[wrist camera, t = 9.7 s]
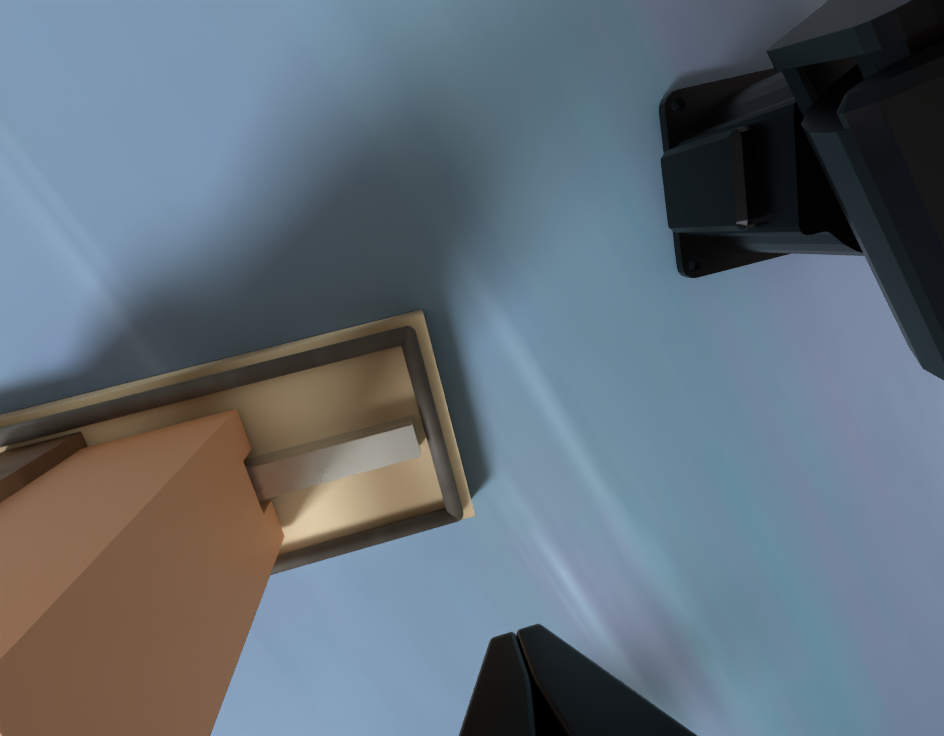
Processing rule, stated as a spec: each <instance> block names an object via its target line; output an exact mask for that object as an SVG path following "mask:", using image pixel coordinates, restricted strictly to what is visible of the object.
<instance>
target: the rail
mask: <svg viewBox="0 0 944 736" xmlns="http://www.w3.org/2000/svg"><path fill="white" fill-rule="evenodd" d="M417 457H421V448H420V443H419V439H418V436H417V432H416V429H415V425H414V421H413V418H412V415H410V416H406V417H402V418H399V419H395V420H391V421H387V422H384V423H380V424H376V425H372V426H369V427H365V428H361V429H357V430H354V431H350V432H346V433H342V434H338V435H335V436H331V437H327V438H323V439H320V440H316V441H312V442H308V443H305V444H301V445H297V446H293V447H290V448H286V449H282V450H278V451H275V452H271V453H267V454H263V455H260V456H256V457H252V458H248V459H245V460H244V461H243V462H244V465H245V467H246V470H247V472H248V475H249V478H250V480H251V483H252V485H253V488H254V491H255V493H256V496H257V498H258V501H260V500H264V499H267V498H271V497H275V496H278V495H282V494H286V493H289V492H293V491H297V490H300V489H304V488H308V487H311V486H315V485H319V484H322V483H326V482H330V481H333V480H337V479H341V478H344V477H348V476H352V475H355V474H359V473H362V472H366V471H370V470H373V469H377V468H381V467H384V466H388V465H392V464H395V463H399V462H403V461H406V460H410V459H414V458H417Z"/></svg>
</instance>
